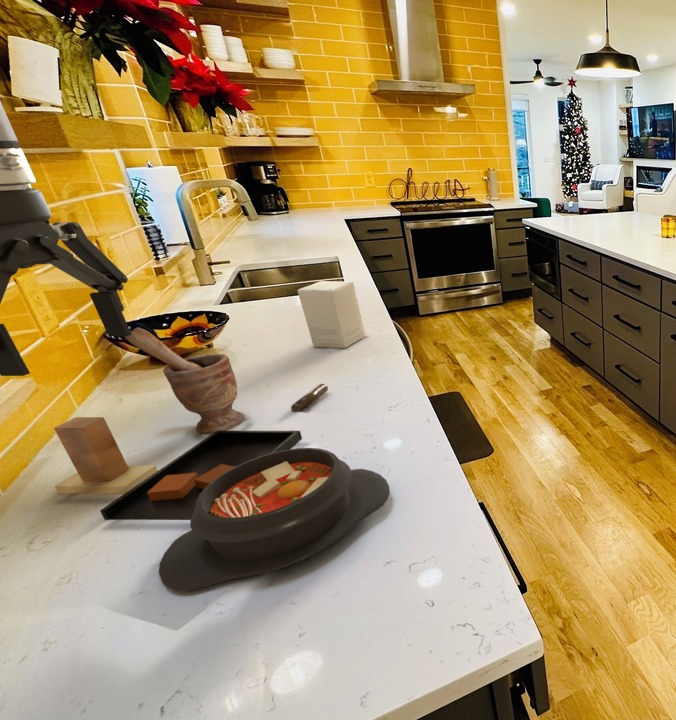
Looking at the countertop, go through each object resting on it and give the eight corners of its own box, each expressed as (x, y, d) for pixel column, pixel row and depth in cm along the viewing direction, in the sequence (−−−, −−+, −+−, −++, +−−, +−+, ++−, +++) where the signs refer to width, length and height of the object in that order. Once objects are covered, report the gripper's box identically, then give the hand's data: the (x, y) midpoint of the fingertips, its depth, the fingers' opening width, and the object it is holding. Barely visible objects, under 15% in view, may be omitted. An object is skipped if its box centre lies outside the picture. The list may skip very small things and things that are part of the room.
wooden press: (61, 499, 72) (22, 431, 67) (96, 478, 76) (62, 413, 72) (131, 499, 72) (97, 431, 67) (161, 478, 76) (131, 413, 72)
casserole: (170, 637, 52) (138, 577, 49) (160, 542, 64) (134, 489, 61) (412, 522, 68) (401, 471, 64) (367, 463, 80) (356, 418, 77)
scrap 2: (197, 488, 72) (193, 479, 72) (224, 472, 76) (221, 463, 75) (218, 492, 72) (215, 484, 71) (245, 476, 75) (242, 468, 74)
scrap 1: (150, 501, 70) (146, 492, 69) (170, 483, 73) (166, 475, 73) (183, 498, 70) (179, 489, 70) (200, 480, 74) (197, 472, 73)
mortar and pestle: (166, 454, 82) (116, 341, 74) (169, 432, 89) (123, 326, 81) (252, 430, 89) (214, 325, 81) (249, 412, 95) (213, 312, 87)
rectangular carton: (367, 336, 133) (354, 281, 127) (345, 348, 125) (331, 290, 119) (335, 334, 134) (321, 280, 128) (312, 347, 126) (295, 289, 120)
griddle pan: (108, 526, 67) (99, 510, 66) (292, 393, 103) (289, 381, 102) (212, 526, 67) (205, 510, 66) (360, 393, 103) (357, 381, 102)
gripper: (-123, 199, 48) (-8, 395, 56) (122, 180, 71) (177, 322, 79) (-203, 199, 48) (-76, 396, 56) (68, 180, 70) (130, 322, 79)
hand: (72, 353), depth 68 cm, fingers open, 13 cm apart
